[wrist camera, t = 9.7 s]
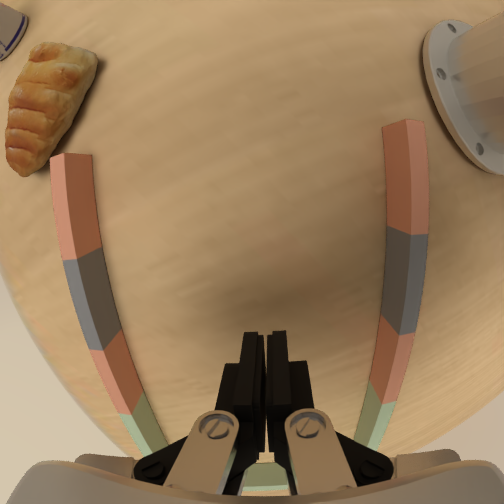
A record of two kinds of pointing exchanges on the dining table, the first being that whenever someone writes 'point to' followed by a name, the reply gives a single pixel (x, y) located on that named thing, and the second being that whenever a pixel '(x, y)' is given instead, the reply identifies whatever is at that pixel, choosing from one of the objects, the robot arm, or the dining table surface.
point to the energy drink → (10, 29)
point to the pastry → (45, 103)
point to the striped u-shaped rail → (392, 310)
